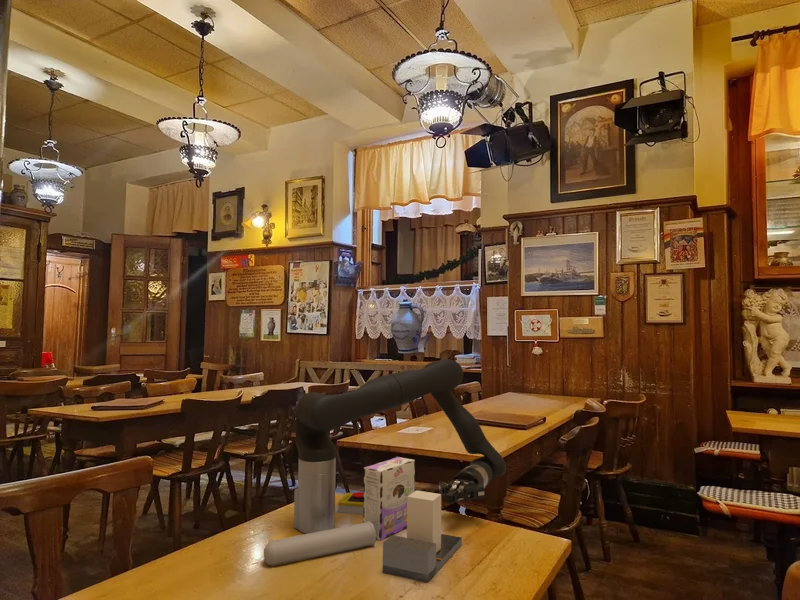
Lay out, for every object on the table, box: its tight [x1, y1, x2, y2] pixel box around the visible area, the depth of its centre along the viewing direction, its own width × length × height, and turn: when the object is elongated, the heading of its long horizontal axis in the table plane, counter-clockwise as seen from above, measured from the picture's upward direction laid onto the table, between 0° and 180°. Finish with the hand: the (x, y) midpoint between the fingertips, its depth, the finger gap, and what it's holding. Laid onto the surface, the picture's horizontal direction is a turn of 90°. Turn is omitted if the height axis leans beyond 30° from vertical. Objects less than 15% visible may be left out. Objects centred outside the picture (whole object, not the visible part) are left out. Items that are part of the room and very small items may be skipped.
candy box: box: [362, 456, 416, 542], centre depth 135 cm, size 14×6×16 cm, turn 142°
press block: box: [406, 489, 442, 553], centre depth 119 cm, size 6×5×12 cm
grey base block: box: [382, 533, 463, 583], centre depth 119 cm, size 10×21×6 cm, turn 155°
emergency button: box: [335, 491, 364, 516], centre depth 150 cm, size 9×4×15 cm
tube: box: [263, 521, 377, 567], centre depth 120 cm, size 5×5×25 cm
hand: (449, 499), depth 134 cm, fingers closed
